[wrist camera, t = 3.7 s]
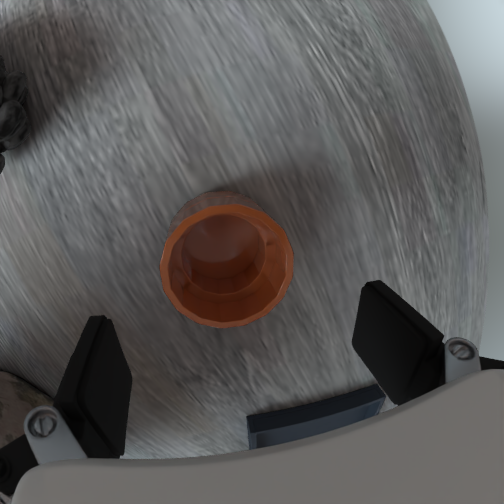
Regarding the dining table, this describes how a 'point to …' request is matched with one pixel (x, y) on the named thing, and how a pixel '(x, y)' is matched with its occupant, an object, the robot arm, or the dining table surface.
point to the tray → (313, 418)
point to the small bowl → (225, 260)
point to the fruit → (12, 110)
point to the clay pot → (17, 405)
